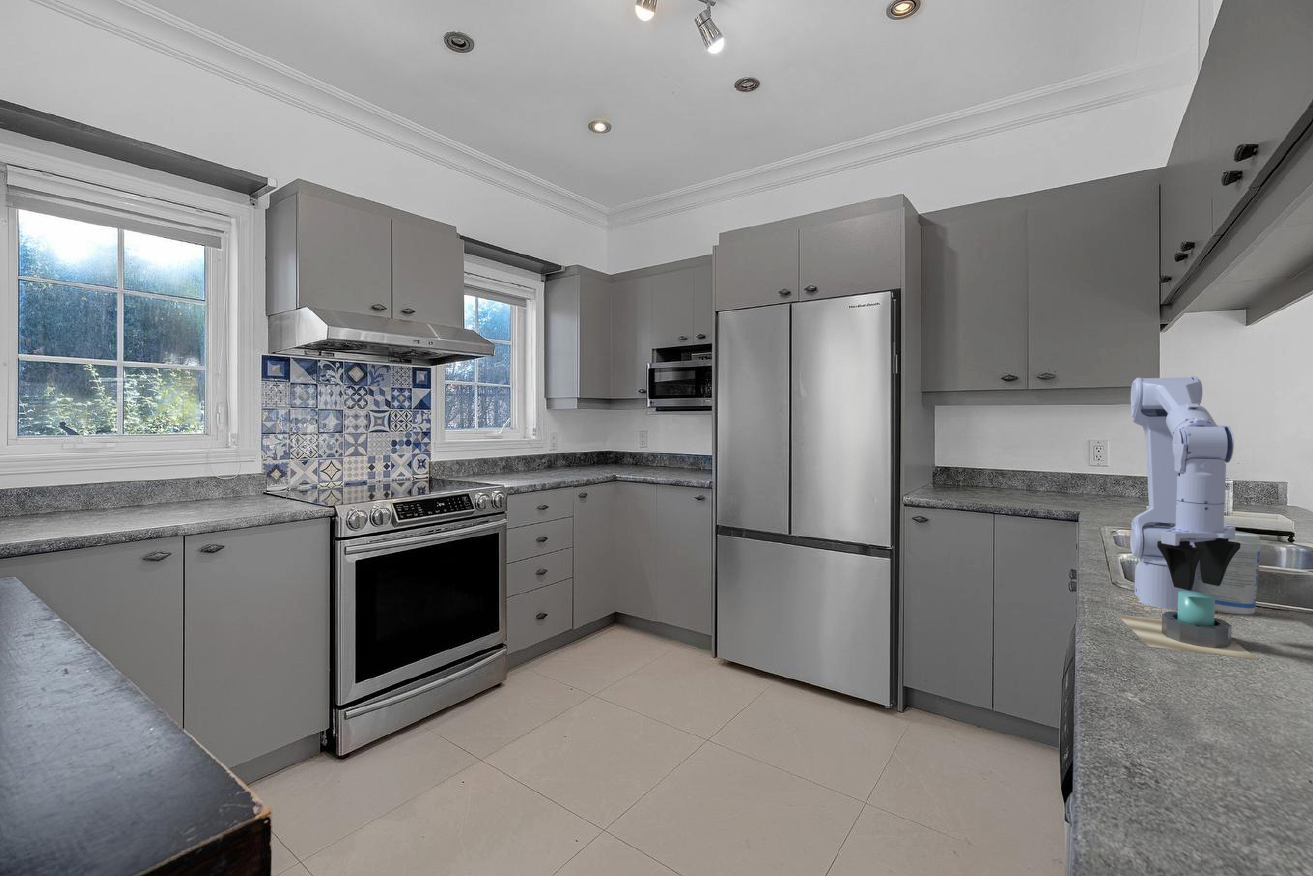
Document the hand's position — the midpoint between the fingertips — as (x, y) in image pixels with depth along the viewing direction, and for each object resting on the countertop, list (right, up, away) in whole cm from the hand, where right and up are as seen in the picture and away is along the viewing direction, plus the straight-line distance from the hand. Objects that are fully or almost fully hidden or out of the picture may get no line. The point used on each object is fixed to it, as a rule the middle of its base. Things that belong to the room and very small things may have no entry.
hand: (1197, 586), depth 97 cm
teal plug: (0, -8, 0) cm, 8 cm away
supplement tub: (+19, -9, +17) cm, 27 cm away
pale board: (-1, -9, +2) cm, 10 cm away
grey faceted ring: (0, -8, 0) cm, 8 cm away
